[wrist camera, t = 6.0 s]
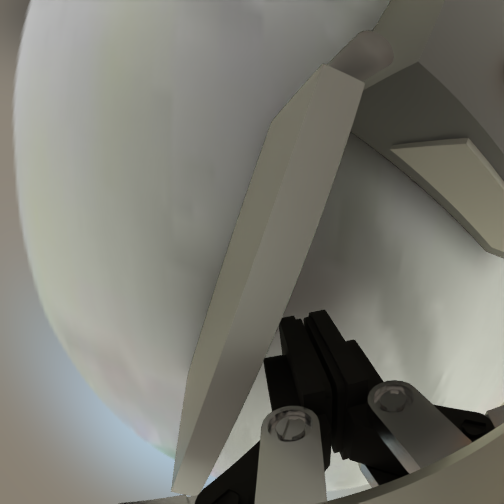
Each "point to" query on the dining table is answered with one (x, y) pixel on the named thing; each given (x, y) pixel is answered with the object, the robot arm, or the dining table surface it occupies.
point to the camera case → (444, 107)
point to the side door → (269, 251)
